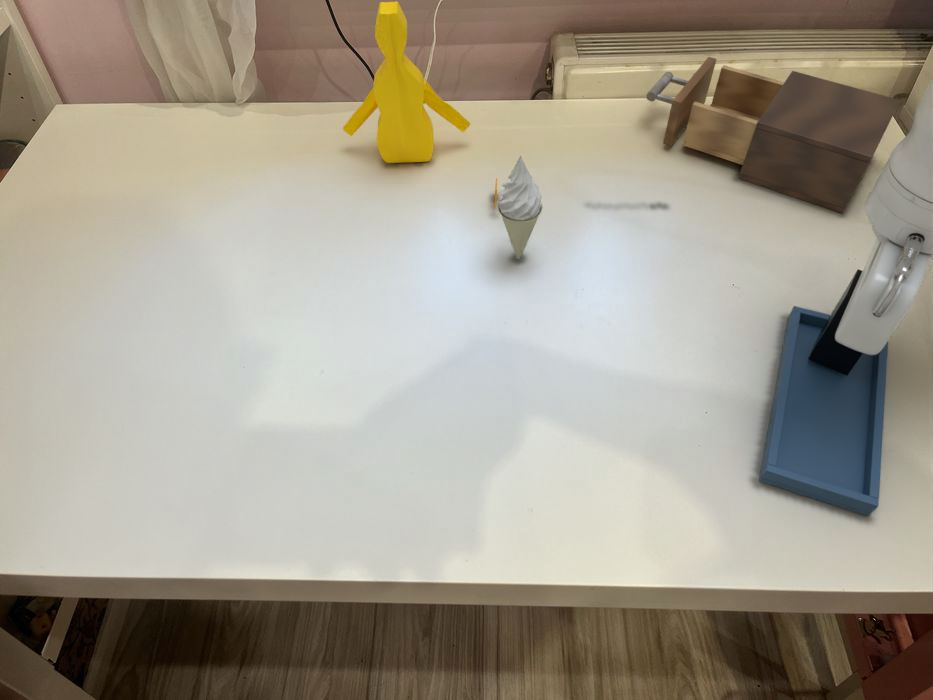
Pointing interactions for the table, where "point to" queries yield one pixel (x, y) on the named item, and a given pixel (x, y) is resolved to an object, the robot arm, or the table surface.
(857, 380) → the tray
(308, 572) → the table surface
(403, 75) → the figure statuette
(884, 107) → the small wooden cabinet
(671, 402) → the table surface
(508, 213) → the ice cream cone
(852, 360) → the block
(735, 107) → the drawer
